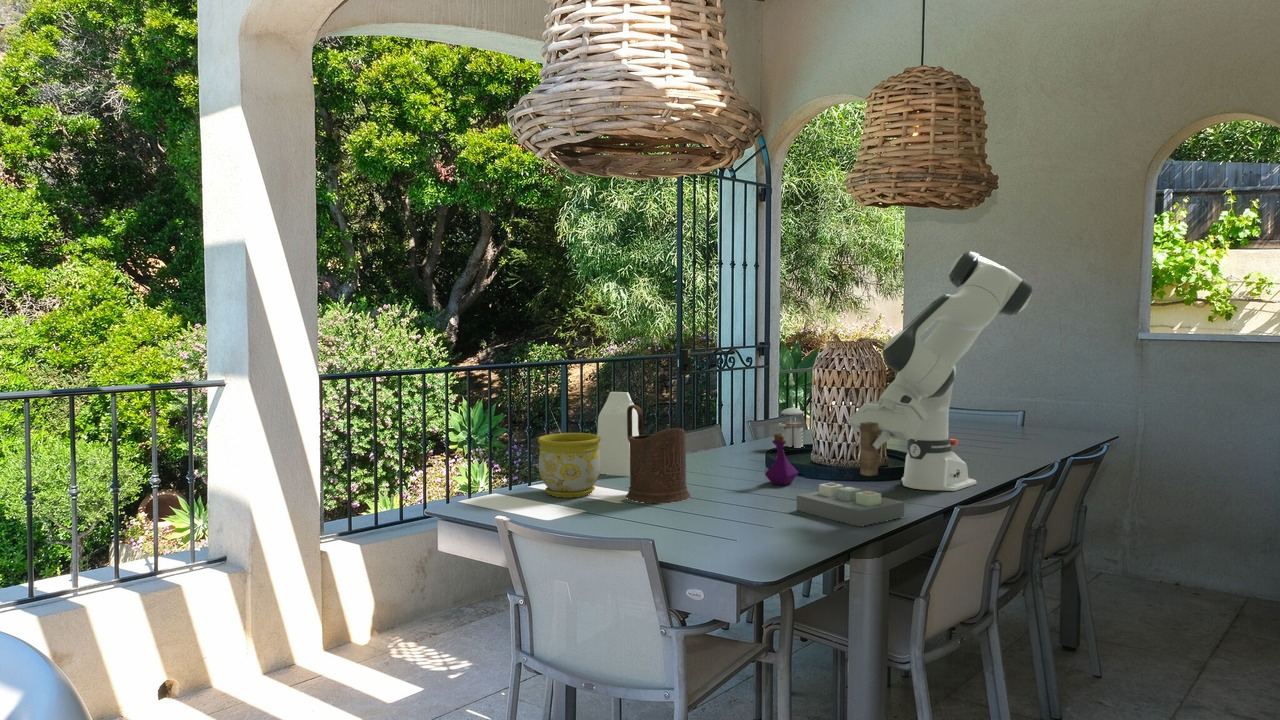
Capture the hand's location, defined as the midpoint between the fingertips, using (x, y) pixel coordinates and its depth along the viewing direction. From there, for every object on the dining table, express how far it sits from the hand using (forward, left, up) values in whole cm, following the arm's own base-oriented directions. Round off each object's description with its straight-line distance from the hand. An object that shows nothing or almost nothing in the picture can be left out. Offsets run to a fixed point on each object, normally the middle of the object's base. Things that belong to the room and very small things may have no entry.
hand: (867, 446), depth 230 cm
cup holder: (+27, -56, -19) cm, 65 cm away
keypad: (-1, -7, -19) cm, 20 cm away
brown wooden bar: (-1, 0, -7) cm, 7 cm away
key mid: (-1, -7, -16) cm, 17 cm away
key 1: (-1, -13, -16) cm, 20 cm away
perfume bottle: (-13, -46, -19) cm, 51 cm away
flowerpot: (+45, -72, -19) cm, 87 cm away
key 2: (-1, 0, -16) cm, 16 cm away
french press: (-58, -90, -19) cm, 108 cm away
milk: (+16, -91, -19) cm, 94 cm away
